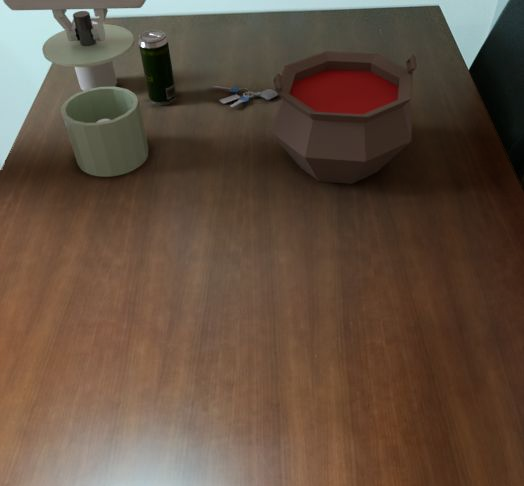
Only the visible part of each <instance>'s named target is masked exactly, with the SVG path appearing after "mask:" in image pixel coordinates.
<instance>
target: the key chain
mask: <svg viewBox="0 0 524 486" xmlns="http://www.w3.org/2000/svg"><path fill="white" fill-rule="evenodd" d="M211 87H212V88H216V89H223V90H229V92H231V93H235V94H232V95H230V96H227V97H224V98H221V99H219V100H218V101H219V102H220V103H222V104H223V105H224V104H227V103H230V102H232V101H235V102H234V103H233V104H231V105H230V107H231V108H235V107H237V106H238V105H240V104H242V103H247V102H249V101H250V99H252V98H255V97H258V98H263V99H265V100H267V101H268V100H269V101H270V100H271V99H273V98H275V97H278V96H279V95H278V93H277V92H276V91H275V89H271V88H266V89H264V90H262V91H257V92H256V91H250V90H249V89H248V88H245V87H241V88H240V87H238V86H233V87H227V86H226V87H225V86H219V85H212V86H211ZM243 89H244V90H247V91H245V92H243V94H242V96H240V95H239V94H238V92H239V91H241V90H243ZM236 100H237V101H236Z"/></svg>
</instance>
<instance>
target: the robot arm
mask: <svg viewBox="0 0 524 486" xmlns="http://www.w3.org/2000/svg"><path fill="white" fill-rule="evenodd" d="M2 1H3V4H4V5H5V6H6V7H8V8H9V9H10V10H11V11H51V12H52V15H53V18H54V19H55V21H56V22H57V23H58V24H59V25H60V26H61V28H62V29H63V30H65V31H66V34H67V38H68V40H69V41H79V37H78V34H77V30H76V26H75V24H74V23H72V22H71V20H70V19H69V18H68V16H67V15H66V12H67V11H68V10H93V14H94V17H97V18H98V20H97V24H93V27H92V28H91V32H92V35H93V40H94V41H104V39H105V30H104V26H103V24H105V21H106V18H107V15H108V12H109V11H108V10H112V9H113V10H114V9H115V10H116V9H141V8H142V7H143V6H144V4H145V3H146V1H147V0H2Z"/></svg>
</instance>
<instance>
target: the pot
mask: <svg viewBox="0 0 524 486" xmlns="http://www.w3.org/2000/svg"><path fill="white" fill-rule="evenodd" d="M60 113H61V116H62V120H63V122H64V126H65V130H66V132H67V135H68V139H69V141H70V144H71V147H72V151H73V154H74V157H75V160H76V163H77V166H78V167H79V169H80V170H81V171H83V172H84V173H85V174H88V175H90V176H94V177H101V178H102V177H104V178H107V177H117V176H121V175H125V174H128V173H131V172H133V171H135V170H137V169H139V167H141V166H142V165H143V164H145V162H146V161H147V159H148V157H149V150H150V149H149V144H148V140H147V135H146V129H145V125H144V120H143V115H142V111H141V106H140V102H139V98H138V97H137V95H136V93H134V91H133V92H132V91H131V90H130V89H128V88H124V87H119V86H115V87H97V88H92V89H87V90H84V91H83V90H81V91H80V92H78V93H75V94H73V95H72V96H70V97H69V98H68V99H66V100H65V101H63V104H62V106H61V107H60ZM101 119H110V120H109V121H104V122H100V123H96V122H97V121H99V120H101Z"/></svg>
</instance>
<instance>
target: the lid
mask: <svg viewBox="0 0 524 486" xmlns="http://www.w3.org/2000/svg"><path fill="white" fill-rule="evenodd" d="M72 18H73V22H74V23H75V26H76V30H77V34H78V37H79V41H69V40H68V38H67V34H66V31H65V29H63V30H61V31H59V32H57V33H55V34H53V35H51V36H50V37H49V38H48V39H47V40H45V41H44V43H43V45H42V48H41V49H42V50H41V51H42V55H43V57H44V58H45V59H46V60H47V61H48V62H50V63H51V64H54V65H56V66H62V67H67V68H75V67H88V66H95V65H100V64H104V63H108V62H111V61H112V62H113V61H116V60H118V59H120V58H122V57H125V56H126V55H127V54H128V53H130V51H131V50H132V49H133V47H135V37H134V35H133V33H132V32H131V31H130V30H129V29H127V28H125V27H122V26H121V25H120V26H119V25H114V24H108V23H104V24H103V26H104V30H105V39H104V41H94V40H93V35H92V32H91V28H92V27H93V24H92V22H91V21H92V18H91V13H90V12H89V11H87V10H78V11H76V12H74V13H72Z"/></svg>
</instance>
